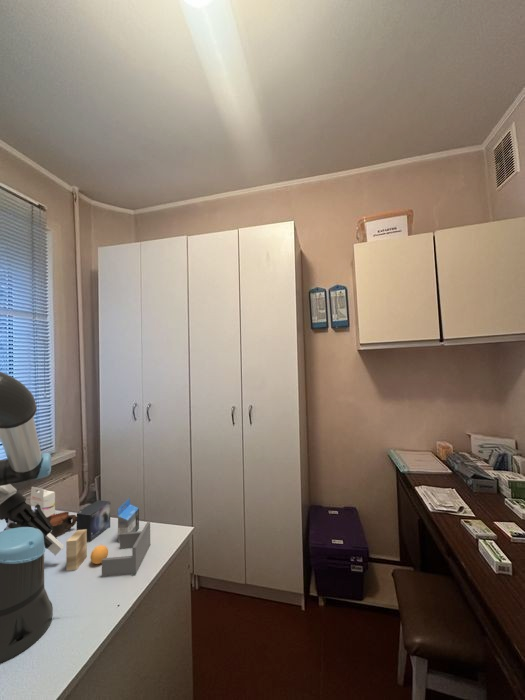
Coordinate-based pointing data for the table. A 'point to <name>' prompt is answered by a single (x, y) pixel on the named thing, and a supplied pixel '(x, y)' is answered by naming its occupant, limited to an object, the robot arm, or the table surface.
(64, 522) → the pottery mug
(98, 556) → the ball
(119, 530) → the label tape cartridge
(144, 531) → the pitch
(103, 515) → the small box
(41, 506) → the ink cartridge box
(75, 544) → the wooden block
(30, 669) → the table surface
